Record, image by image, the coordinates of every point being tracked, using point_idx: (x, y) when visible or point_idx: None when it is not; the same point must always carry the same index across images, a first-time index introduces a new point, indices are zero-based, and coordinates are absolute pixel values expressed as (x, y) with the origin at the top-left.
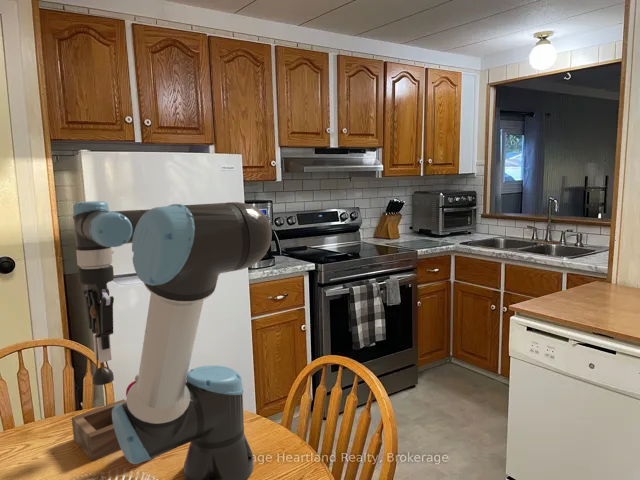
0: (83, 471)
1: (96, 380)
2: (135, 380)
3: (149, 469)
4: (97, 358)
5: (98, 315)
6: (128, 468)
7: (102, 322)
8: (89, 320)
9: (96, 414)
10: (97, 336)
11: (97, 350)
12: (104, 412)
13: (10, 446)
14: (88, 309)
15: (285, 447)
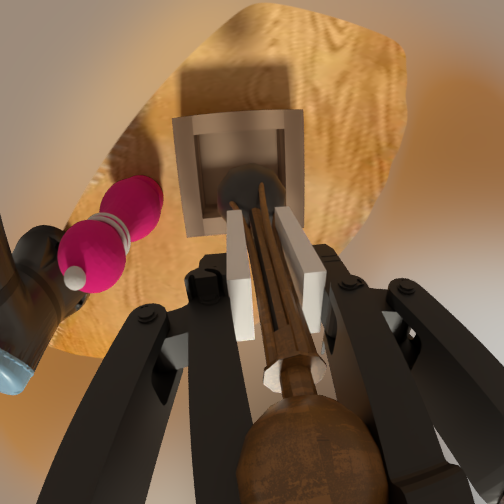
0: (160, 98)
1: (230, 173)
2: (72, 266)
3: (97, 192)
4: (261, 213)
5: (193, 454)
6: (118, 165)
7: (88, 397)
8: (428, 322)
9: (284, 158)
10: (185, 280)
11: (265, 232)
12: (284, 175)
13: (351, 29)
14: (483, 393)
15: (69, 339)
